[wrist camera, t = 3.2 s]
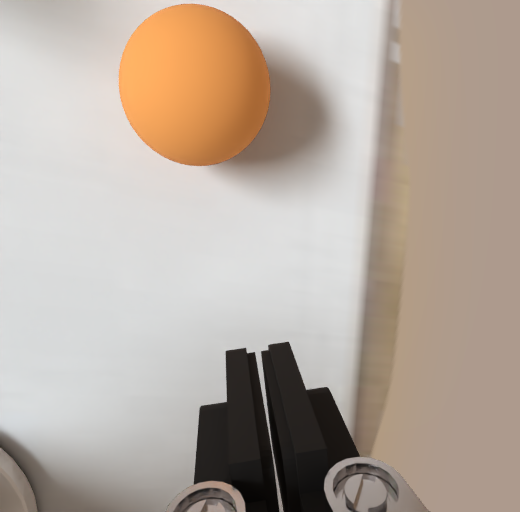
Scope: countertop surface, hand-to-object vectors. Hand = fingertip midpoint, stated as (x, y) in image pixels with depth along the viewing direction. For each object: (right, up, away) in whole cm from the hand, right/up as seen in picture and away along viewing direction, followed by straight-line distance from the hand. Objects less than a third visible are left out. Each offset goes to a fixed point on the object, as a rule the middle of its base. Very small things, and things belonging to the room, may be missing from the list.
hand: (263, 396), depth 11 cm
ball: (-2, +10, +5) cm, 11 cm away
